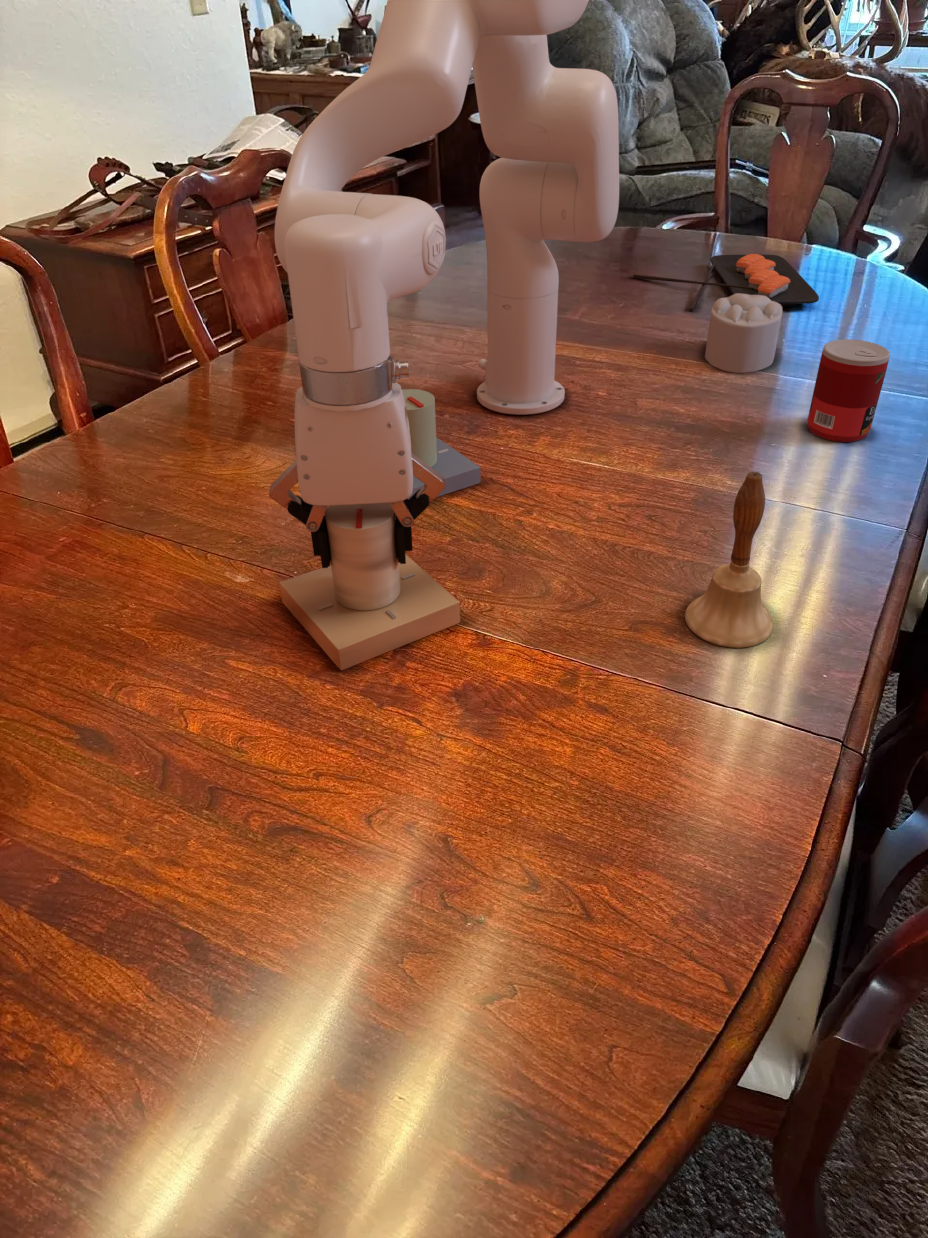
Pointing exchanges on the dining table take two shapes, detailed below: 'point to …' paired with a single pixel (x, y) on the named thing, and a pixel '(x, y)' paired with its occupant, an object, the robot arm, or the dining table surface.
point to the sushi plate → (756, 279)
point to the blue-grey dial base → (452, 470)
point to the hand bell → (735, 582)
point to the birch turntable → (369, 614)
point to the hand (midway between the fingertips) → (364, 556)
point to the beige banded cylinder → (363, 555)
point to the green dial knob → (422, 424)
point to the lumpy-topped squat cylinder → (743, 333)
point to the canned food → (847, 389)
